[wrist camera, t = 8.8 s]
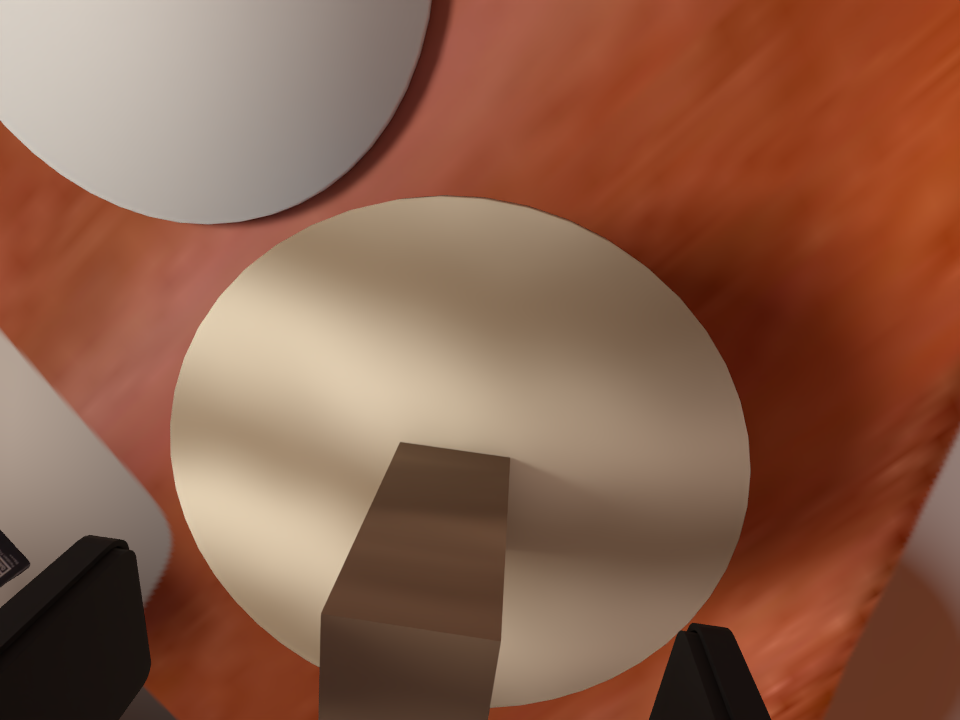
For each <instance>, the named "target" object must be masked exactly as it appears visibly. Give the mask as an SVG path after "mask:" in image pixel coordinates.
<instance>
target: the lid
mask: <svg viewBox="0 0 960 720" xmlns="http://www.w3.org/2000/svg"><path fill="white" fill-rule="evenodd" d="M170 437H171V461H172V467H173V473H174V479H175V486H176V490H177V493H178V497H179V500H180V503H181V507H182V510H183V513H184V516H185V519H186V522H187V524H188V526H189V528H190V531H191V533H192V535H193V537H194V539H195V542H196V544H197V546H198V548H199V550H200V551H201V553H202V555H203V556H204V558H205V560H206V561H207V563H208V565H209V566H210V568H211V570H212V571H213V573H214V574H215V576H216V577H217V578H218V580H219V581H220V582H221V584H222V585H223V586H224V587H225V589H226V590H227V591H228V593H229V594H230V595H231V596H232V598H233V599H234V600H235V601H236V602H237V603H238V604H239V605H240V606H241V607H242V608H243V609H244V610H245V611H246V612H247V614H248V615H249V616H250V617H251V618H252V619H253V620H254V621H255V622H256V623H257V624H259V625H260V626H261V627H262V628H263V629H265V630H266V631H267V632H268V633H269V634H271V635H272V636H273V637H274V638H276V639H277V640H278V641H279V642H280V643H282V644H283V645H285V646H286V647H288V648H289V649H291V650H292V651H294V652H295V653H297V654H298V655H300V656H301V657H303V658H304V659H306V660H307V661H309V662H311V663H313V664H315V665H316V666H318V667H320V677H319V720H488V715H489V709H490V708H492V707H504V706H516V705H524V704H530V703H535V702H541V701H546V700H551V699H555V698H559V697H562V696H565V695H569V694H572V693H576V692H579V691H582V690H585V689H587V688H590V687H592V686H594V685H597V684H599V683H602V682H604V681H606V680H609V679H611V678H613V677H615V676H617V675H619V674H621V673H622V672H624V671H626V670H628V669H629V668H631V667H633V666H635V665H637V664H638V663H640V662H642V661H643V660H644V659H646V658H647V657H648V656H650V655H651V654H653V653H654V652H655V651H657V650H658V649H659V648H661V647H662V646H664V645H665V644H666V643H667V642H668V641H669V640H670V639H672V638H673V637H674V636H675V635H676V634H677V633H678V632H679V631H680V630H681V629H682V628H683V627H684V626H685V625H686V624H688V623H689V622H690V620H691V619H692V618H693V617H694V615H695V614H696V613H697V612H698V611H699V609H700V608H701V607H702V606H703V604H704V603H705V602H706V601H707V600H708V598H709V597H710V595H711V594H712V592H713V590H714V589H715V587H716V585H717V584H718V582H719V581H720V579H721V577H722V576H723V574H724V572H725V571H726V569H727V566H728V564H729V562H730V559H731V557H732V555H733V552H734V550H735V547H736V545H737V543H738V540H739V537H740V533H741V529H742V525H743V522H744V518H745V514H746V510H747V505H748V494H749V483H750V473H751V471H750V455H749V439H748V433H747V428H746V424H745V420H744V415H743V411H742V406H741V402H740V399H739V396H738V394H737V391H736V389H735V386H734V383H733V381H732V378H731V376H730V373H729V371H728V368H727V366H726V364H725V362H724V360H723V359H722V357H721V355H720V353H719V352H718V350H717V348H716V347H715V345H714V343H713V341H712V340H711V338H710V336H709V335H708V333H707V331H706V330H705V328H704V327H703V326H702V325H701V323H700V322H699V321H698V320H697V319H696V317H695V316H694V315H693V314H692V312H691V311H690V310H689V309H688V307H687V306H686V305H685V304H684V302H683V301H682V300H681V299H680V298H679V297H678V296H677V295H676V294H675V293H674V292H673V291H672V290H671V289H670V288H669V287H668V286H667V285H665V284H664V283H663V282H662V281H661V280H660V279H659V278H658V277H657V276H656V275H655V274H654V273H653V272H651V271H650V270H649V269H648V268H647V267H646V266H644V265H643V264H642V263H640V262H639V261H638V260H636V259H635V258H633V257H632V256H630V255H629V254H628V253H626V252H625V251H623V250H622V249H620V248H619V247H617V246H616V245H615V244H613V243H612V242H610V241H609V240H607V239H606V238H604V237H602V236H600V235H598V234H596V233H594V232H592V231H590V230H588V229H586V228H584V227H582V226H580V225H578V224H576V223H574V222H572V221H570V220H568V219H565V218H562V217H559V216H557V215H554V214H551V213H548V212H545V211H542V210H539V209H536V208H533V207H530V206H527V205H522V204H517V203H511V202H506V201H501V200H496V199H491V198H485V197H467V196H449V195H440V196H428V197H416V198H404V199H398V200H394V201H389V202H385V203H381V204H376V205H372V206H367V207H363V208H358V209H354V210H350V211H347V212H345V213H342V214H340V215H337V216H334V217H332V218H329V219H327V220H324V221H321V222H319V223H316V224H313V225H311V226H309V227H307V228H306V229H304V230H302V231H300V232H299V233H297V234H295V235H293V236H291V237H290V238H288V239H286V240H284V241H283V242H281V243H279V244H277V245H276V246H274V247H273V248H272V249H270V250H269V251H268V252H267V253H265V254H264V255H263V256H261V257H260V258H259V259H258V260H256V261H255V262H254V263H253V264H251V265H250V266H249V267H247V268H246V269H245V270H244V271H243V272H242V273H241V274H240V275H239V276H238V277H237V278H236V280H235V281H234V282H233V283H232V284H231V285H230V286H229V287H228V288H227V289H226V290H225V291H224V292H223V293H222V294H221V296H220V297H219V298H218V300H217V301H216V302H215V304H214V305H213V307H212V308H211V310H210V311H209V313H208V314H207V316H206V317H205V319H204V320H203V322H202V323H201V325H200V326H199V328H198V330H197V332H196V334H195V336H194V338H193V341H192V343H191V345H190V347H189V349H188V351H187V353H186V355H185V358H184V361H183V364H182V367H181V371H180V374H179V378H178V381H177V384H176V388H175V392H174V399H173V407H172V415H171V422H170Z"/></svg>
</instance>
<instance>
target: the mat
mask: <svg viewBox="0 0 960 720" xmlns="http://www.w3.org/2000/svg"><path fill="white" fill-rule="evenodd" d="M431 4H432V0H0V120H1V121H2V123H3V124H4V125H5V126H6V127H7V128H8V129H9V130H10V131H11V132H12V133H13V134H14V135H15V136H16V137H17V138H18V139H19V140H20V141H21V142H22V143H23V144H24V145H25V146H27V147H28V148H29V149H30V150H31V151H32V152H33V153H34V154H35V155H37V156H38V157H39V158H40V159H42V160H43V161H44V162H46V163H47V164H48V165H49V166H51V167H52V168H53V169H54V170H56V171H57V172H58V173H60V174H61V175H62V176H64V177H66V178H67V179H69V180H71V181H72V182H74V183H75V184H77V185H79V186H80V187H82V188H83V189H85V190H87V191H88V192H90V193H92V194H94V195H96V196H98V197H100V198H103V199H105V200H107V201H109V202H111V203H113V204H115V205H117V206H120V207H122V208H125V209H128V210H131V211H134V212H137V213H140V214H143V215H146V216H150V217H155V218H160V219H165V220H170V221H175V222H181V223H197V224H219V223H231V222H241V221H246V220H251V219H255V218H260V217H264V216H268V215H273V214H276V213H278V212H281V211H283V210H286V209H289V208H291V207H294V206H296V205H299V204H301V203H303V202H305V201H306V200H308V199H310V198H312V197H313V196H315V195H317V194H319V193H320V192H322V191H324V190H326V189H327V188H328V187H330V186H331V185H332V184H333V183H335V182H336V181H337V180H338V179H340V178H341V177H342V176H343V175H345V174H346V173H347V172H349V171H350V170H351V169H352V168H353V167H354V166H355V164H356V163H357V162H358V161H359V160H360V159H361V158H362V157H363V156H364V155H365V154H366V153H367V152H368V151H369V150H370V149H371V148H372V146H373V145H374V143H375V142H376V141H377V139H378V138H379V136H380V135H381V134H382V132H383V131H384V130H385V128H386V127H387V125H388V124H389V123H390V121H391V119H392V118H393V116H394V114H395V112H396V110H397V108H398V106H399V104H400V103H401V101H402V99H403V97H404V95H405V93H406V91H407V89H408V87H409V84H410V81H411V79H412V76H413V73H414V71H415V68H416V66H417V63H418V60H419V58H420V55H421V51H422V47H423V43H424V39H425V35H426V31H427V27H428V23H429V19H430V12H431Z"/></svg>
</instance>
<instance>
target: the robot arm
mask: <svg viewBox="0 0 960 720" xmlns="http://www.w3.org/2000/svg"><path fill="white" fill-rule="evenodd" d="M150 667H151V658H150V651H149V644H148V637H147V630H146V623H145V616H144V609H143V602H142V595H141V589H140V582H139V574H138V567H137V560H136V555H135V553H134V552H133V551H132V550H129V547H128V544H127V542H126V541H124V540H120V539H113V538H107V537H99V536H93V535H88V536H85V537H83V538H81V539H80V540H78V541H77V542H76V543H75V544H74V545H73V546H71V547H70V548H69V549H68V550H67V551H66V552H64V553H63V554H62V555H61V556H60V557H59V558H57V559H56V561H54V562H53V563H52V564H51V565H49V566H48V567H47V568H46V569H45V570H44V571H42V572H41V573H40V574H39V575H38V576H37V577H36V578H34V579H33V580H32V581H31V582H30V583H29V584H28V585H26V586H25V587H24V588H23V589H22V590H20V591H19V592H18V593H17V594H16V595H15V596H14V597H12V598H11V599H10V600H9V601H8V602H7V603H6V604H4V605H3V606H2V607H1V608H0V720H119V719H120V717H121V716H122V714H123V713H124V712H125V710H126V709H127V707H128V706H129V704H130V703H131V702H132V700H133V699H134V698H135V696H136V695H137V693H138V692H139V691H140V689H141V688H142V686H143V685H144V683H145V681H146V679H147V677H148V674H149V671H150ZM649 720H771V718H770V716H769V713H768V711H767V709H766V707H765V704H764V702H763V700H762V698H761V695H760V693H759V691H758V689H757V686H756V684H755V682H754V680H753V677H752V675H751V673H750V671H749V668H748V666H747V664H746V662H745V659H744V657H743V655H742V653H741V650H740V648H739V646H738V644H737V641H736V639H735V637H734V635H733V633H732V632H731V631H730V630H729V629H728V628H725V627H718V626H711V625H704V624H697V623H692V624H691V625H690V626H689V628H688V630H687V631H679V632H678V634H677V636H676V639H675V642H674V645H673V648H672V651H671V655H670V658H669V661H668V664H667V667H666V670H665V673H664V676H663V679H662V682H661V685H660V688H659V691H658V694H657V697H656V700H655V703H654V706H653V709H652V712H651V715H650V718H649Z"/></svg>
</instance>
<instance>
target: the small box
mask: <svg viewBox="0 0 960 720" xmlns="http://www.w3.org/2000/svg"><path fill="white" fill-rule="evenodd" d="M29 566H30V563H29V561H28V560H27V558H26V557H25V556H24V555H23V554H22V553H21V552H20V551H19V550H18V549H17V548H16V547H15V545H14V544H13V543H12V542H11V541H10V540H9V539H8V538H7V537H6V536H5V534H3V532H2V531H1V530H0V587H2V586H3V585H4V584H5V583H7V582H8V581H10V580H11V579H13V578H15V577H16V576H18V575H19V574H21V573H22V572H23V571H25V570H26V569H27V568H29Z"/></svg>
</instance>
